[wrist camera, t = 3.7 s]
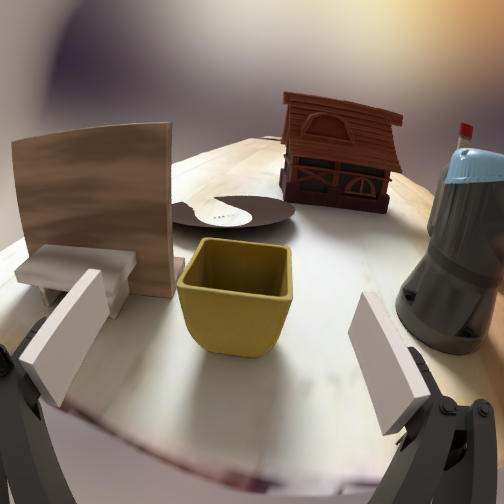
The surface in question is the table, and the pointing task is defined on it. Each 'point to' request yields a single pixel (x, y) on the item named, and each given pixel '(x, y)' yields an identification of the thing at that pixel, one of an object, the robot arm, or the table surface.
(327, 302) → the table surface
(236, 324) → the flower pot
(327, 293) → the table surface
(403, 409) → the robot arm
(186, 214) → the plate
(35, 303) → the table surface
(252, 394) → the table surface
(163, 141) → the cleat board
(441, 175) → the liquor
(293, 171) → the house
